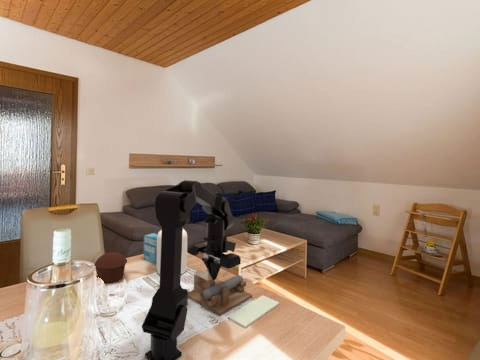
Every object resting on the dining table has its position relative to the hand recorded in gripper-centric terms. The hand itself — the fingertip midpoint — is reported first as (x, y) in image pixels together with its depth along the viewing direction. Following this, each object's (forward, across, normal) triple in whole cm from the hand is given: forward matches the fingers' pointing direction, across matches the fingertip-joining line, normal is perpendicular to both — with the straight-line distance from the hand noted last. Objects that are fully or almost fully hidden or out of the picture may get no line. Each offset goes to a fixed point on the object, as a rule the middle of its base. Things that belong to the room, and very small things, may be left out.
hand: (214, 279), depth 90 cm
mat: (+7, -14, -5) cm, 17 cm away
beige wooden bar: (+1, +5, 0) cm, 5 cm away
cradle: (+7, 0, -3) cm, 8 cm away
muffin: (+8, +40, +17) cm, 44 cm away
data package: (+8, +44, -5) cm, 45 cm away
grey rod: (+3, -2, -3) cm, 5 cm away
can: (+8, +30, -4) cm, 31 cm away
